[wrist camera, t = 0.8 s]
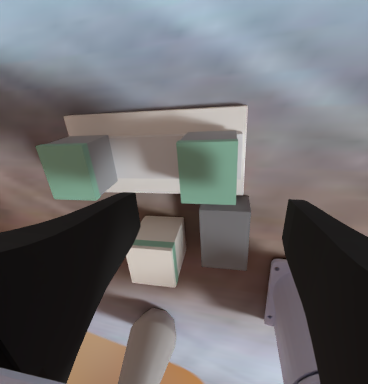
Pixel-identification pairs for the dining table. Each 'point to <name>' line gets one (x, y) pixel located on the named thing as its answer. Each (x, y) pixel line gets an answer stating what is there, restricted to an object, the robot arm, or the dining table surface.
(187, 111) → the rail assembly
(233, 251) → the relay
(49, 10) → the dining table surface
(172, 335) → the salt shaker
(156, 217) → the block
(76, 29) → the dining table surface
